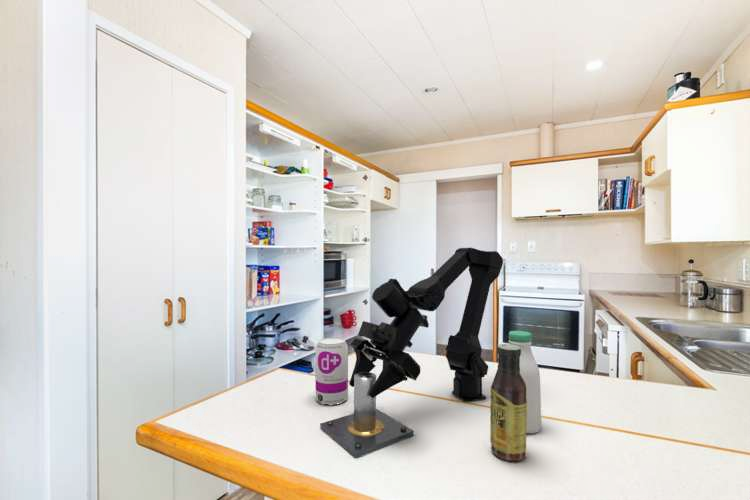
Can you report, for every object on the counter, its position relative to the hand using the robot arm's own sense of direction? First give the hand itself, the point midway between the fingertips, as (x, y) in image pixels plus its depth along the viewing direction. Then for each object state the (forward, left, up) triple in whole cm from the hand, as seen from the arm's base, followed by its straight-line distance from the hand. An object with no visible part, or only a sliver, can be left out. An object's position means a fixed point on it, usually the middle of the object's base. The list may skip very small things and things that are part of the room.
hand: (360, 390), depth 73 cm
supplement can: (+2, -19, -9) cm, 21 cm away
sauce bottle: (-23, +17, -9) cm, 30 cm away
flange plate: (-1, 0, -9) cm, 9 cm away
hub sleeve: (-1, 0, -8) cm, 8 cm away
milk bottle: (-33, +9, -9) cm, 36 cm away
